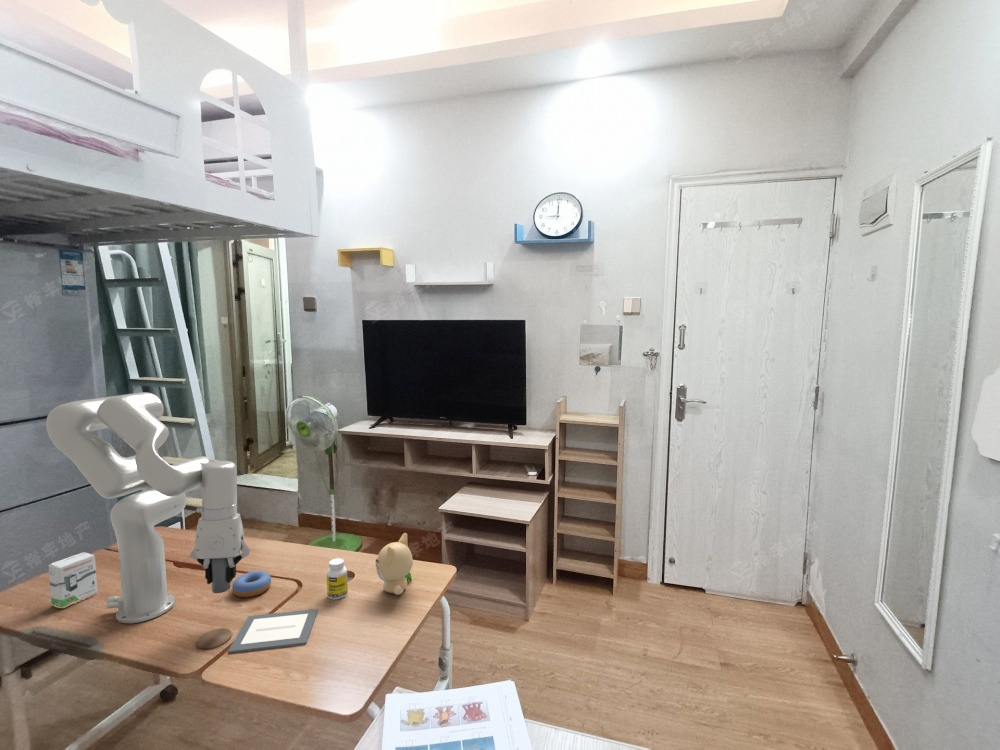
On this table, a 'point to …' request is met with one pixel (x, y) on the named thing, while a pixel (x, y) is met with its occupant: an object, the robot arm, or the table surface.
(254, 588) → the doughnut
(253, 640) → the grey picture frame
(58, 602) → the ink box
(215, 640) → the coaster
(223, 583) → the marker
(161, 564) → the robot arm
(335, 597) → the supplement bottle
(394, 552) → the kitten
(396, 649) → the table surface
